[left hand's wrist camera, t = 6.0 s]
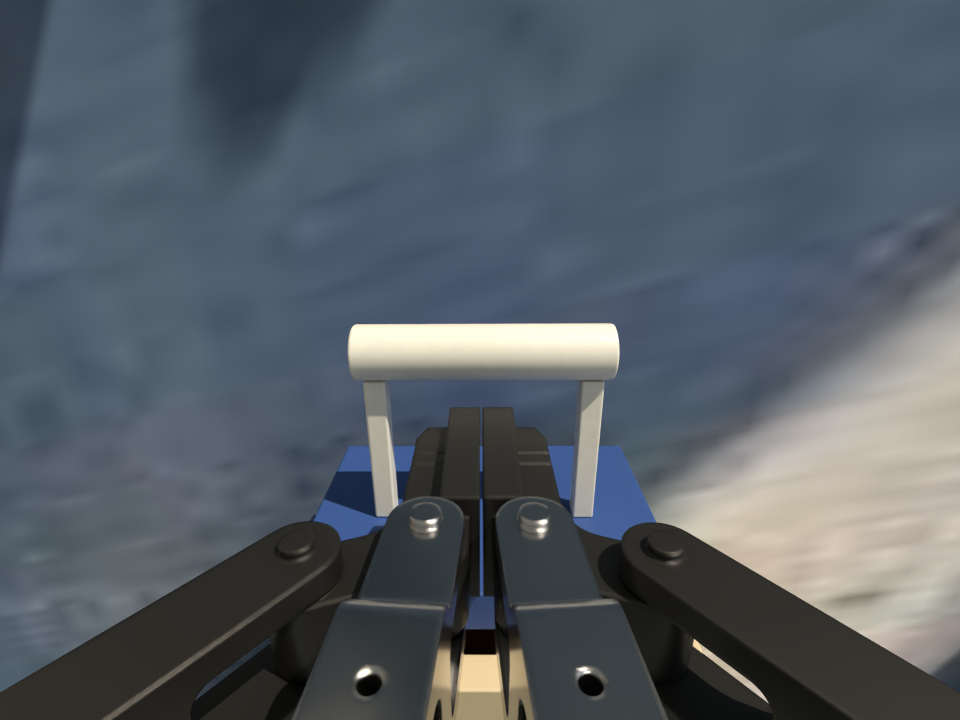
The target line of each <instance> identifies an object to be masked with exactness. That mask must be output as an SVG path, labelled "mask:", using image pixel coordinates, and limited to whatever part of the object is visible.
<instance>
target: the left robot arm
mask: <svg viewBox="0 0 960 720" xmlns="http://www.w3.org/2000/svg"><path fill="white" fill-rule="evenodd" d="M482 485H483V597H494V638H495V647H496V656H497V664H498V673H499V681H500V690H501V699H502V707H503V716H504V720H960V692H958V691H956V690H954V689H953V688H951V687H949V686H948V685H946V684H944V683H943V682H941V681H939V680H938V679H936V678H934V677H932V676H931V675H929V674H927V673H926V672H924V671H922V670H921V669H919V668H917V667H915V666H914V665H912V664H910V663H909V662H907V661H905V660H904V659H902V658H900V657H898V656H897V655H895V654H893V653H892V652H890V651H888V650H887V649H885V648H883V647H881V646H880V645H878V644H876V643H875V642H873V641H871V640H870V639H868V638H866V637H864V636H863V635H861V634H859V633H858V632H856V631H854V630H853V629H851V628H849V627H847V626H846V625H844V624H842V623H841V622H839V621H837V620H836V619H834V618H832V617H830V616H829V615H827V614H825V613H824V612H822V611H820V610H819V609H817V608H815V607H813V606H812V605H810V604H808V603H807V602H805V601H803V600H802V599H800V598H798V597H796V596H795V595H793V594H791V593H790V592H788V591H786V590H785V589H783V588H781V587H779V586H778V585H776V584H774V583H773V582H771V581H769V580H768V579H766V578H764V577H762V576H761V575H759V574H757V573H756V572H754V571H752V570H751V569H749V568H747V567H745V566H744V565H742V564H740V563H739V562H737V561H735V560H734V559H732V558H730V557H728V556H727V555H725V554H723V553H722V552H720V551H718V550H717V549H715V548H713V547H712V546H710V545H708V544H706V543H705V542H703V541H701V540H700V539H698V538H696V537H695V536H693V535H691V534H689V533H688V532H686V531H684V530H682V529H680V528H677V527H675V526H671V525H668V524H663V523H655V522H647V523H640V524H637V525H634V526H632V527H630V528H629V529H628V530H626V531H625V533H624V534H623V536H622V539H621V540H617V539H613V538H609V537H604V536H600V535H597V534H593V533H591V532H588V531H586V530H584V529H582V528H580V527H579V526H577V525H576V524H575V523H574V520H573V518H572V516H571V514H570V513H569V511H568V510H567V509H566V508H565V507H564V506H562V505H561V501H560V496H559V492H558V488H557V484H556V479H555V475H554V471H553V467H552V462H551V458H550V454H549V450H548V445H547V441H546V438H545V437H544V436H543V435H542V434H541V433H540V432H539V431H538V430H536V429H535V428H515V424H514V416H513V409H512V407H483V450H482ZM470 597H480V408H450V413H449V422H448V428H427V429H426V430H425V431H424V432H423V433H422V434H421V435H420V436H419V437H418V438H417V440H416V445H415V449H414V455H413V458H412V462H411V467H410V471H409V476H408V480H407V484H406V489H405V493H404V498H403V502H402V503H401V504H399V505H398V506H396V507H395V508H394V509H393V510H392V511H391V513H390V514H389V516H388V518H387V520H386V523H385V526H384V528H382V529H380V530H378V531H376V532H373V533H371V534H368V535H364V536H360V537H356V538H352V539H347V540H343V541H341V539H340V536H339V533H338V532H337V530H336V529H334V528H333V527H332V526H330V525H328V524H325V523H322V522H316V521H305V522H298V523H293V524H290V525H287V526H284V527H282V528H280V529H278V530H276V531H274V532H272V533H271V534H269V535H267V536H265V537H264V538H262V539H260V540H259V541H257V542H255V543H254V544H252V545H250V546H249V547H247V548H245V549H243V550H242V551H240V552H238V553H237V554H235V555H233V556H232V557H230V558H228V559H226V560H225V561H223V562H221V563H220V564H218V565H216V566H215V567H213V568H211V569H209V570H208V571H206V572H204V573H203V574H201V575H199V576H198V577H196V578H194V579H192V580H191V581H189V582H187V583H186V584H184V585H182V586H181V587H179V588H177V589H175V590H174V591H172V592H170V593H169V594H167V595H165V596H164V597H162V598H160V599H158V600H157V601H155V602H153V603H152V604H150V605H148V606H147V607H145V608H143V609H141V610H140V611H138V612H136V613H135V614H133V615H131V616H130V617H128V618H126V619H124V620H123V621H121V622H119V623H118V624H116V625H114V626H113V627H111V628H109V629H107V630H106V631H104V632H102V633H101V634H99V635H97V636H96V637H94V638H92V639H90V640H89V641H87V642H85V643H84V644H82V645H80V646H79V647H77V648H75V649H73V650H72V651H70V652H68V653H67V654H65V655H63V656H62V657H60V658H58V659H56V660H55V661H53V662H51V663H50V664H48V665H46V666H45V667H43V668H41V669H40V670H38V671H36V672H34V673H33V674H31V675H29V676H28V677H26V678H24V679H23V680H21V681H19V682H17V683H16V684H14V685H12V686H11V687H9V688H7V689H6V690H4V691H2V692H0V720H456V716H457V707H458V699H459V690H460V681H461V673H462V664H463V656H464V647H465V638H466V623H467V620H468V617H469V599H470ZM268 637H269V638H270V644H269V645H268V646H266V647H265V648H264V649H263V650H261V651H260V652H259V653H257V654H256V655H255V656H253V657H252V658H251V659H249V660H248V661H247V662H245V663H244V664H243V665H242V666H240V667H239V668H238V669H236V670H235V671H234V672H232V673H231V674H230V675H228V676H227V677H226V678H224V679H223V680H222V681H221V682H219V683H218V684H217V685H215V686H214V687H213V688H211V689H210V690H209V691H207V692H206V693H205V694H203V695H202V696H201V697H199V698H198V699H197V700H196V701H194V700H195V698H196V697H197V695H198V694H199V692H200V691H201V690H202V689H203V687H204V686H205V685H206V684H207V683H208V682H210V681H211V680H212V679H213V678H215V677H216V676H217V675H219V674H220V673H221V672H223V671H224V670H225V669H227V668H228V667H229V666H231V665H232V664H233V663H235V662H236V661H237V660H239V659H240V658H241V657H243V656H244V655H245V654H247V653H248V652H249V651H251V650H252V649H253V648H255V647H256V646H257V645H259V644H260V643H261V642H263V641H264V640H265V639H267V638H268ZM694 639H695V640H696V641H697V642H699V643H700V644H701V645H703V646H704V647H705V648H707V649H708V650H709V651H711V652H712V653H713V654H715V655H716V656H717V657H719V658H720V659H721V660H723V661H724V662H725V663H727V664H728V665H729V666H731V667H732V668H733V669H735V670H736V671H737V672H739V673H740V674H741V675H743V676H744V677H745V678H747V679H748V680H749V681H751V682H752V683H753V684H754V685H755V686H756V687H757V688H758V689H759V690H760V691H761V692H762V693H763V695H764V696H765V697H766V699H767V701H768V703H769V704H768V703H767V702H766V701H764V700H763V699H762V698H761V697H759V696H758V695H757V694H755V693H754V692H753V691H751V690H750V689H749V688H747V687H746V686H745V685H743V684H742V683H741V682H740V681H738V680H737V679H736V678H734V677H733V676H732V675H730V674H729V673H728V672H726V671H725V670H724V669H722V668H721V667H720V666H718V665H717V664H716V663H715V662H713V661H712V660H711V659H709V658H708V657H707V656H705V655H704V654H703V653H701V652H700V651H699V650H697V649H696V648H695V647H694V646H693V642H694Z"/></svg>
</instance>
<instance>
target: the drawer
mask: <svg viewBox="0 0 960 720" xmlns="http://www.w3.org/2000/svg"><path fill="white" fill-rule="evenodd" d="M618 364H619V339H618V334H617V330H616V328H615V326H614V325H613V324H356V325H354V326H353V327H352V328H351V331H350V334H349V339H348V365H349V370H350V373H351V376H352V378H353V379H354V380H357V381H363V380H365V381H364V383H363V390H364V400H365V410H366V421H367V431H368V441H369V446H349V447H348V449H347V451H346V453H345V455H344V458H343V460H342V462H341V464H340V466H339V468H338V470H337V472H336V474H335V476H334V478H333V481H332V483H331V485H330V487H329V489H328V491H327V493H326V495H325V497H324V499H323V501H322V504H321V506H320V508H319V510H318V512H317V514H316V516H315V518H314V520H313V521H316V522H322V523H325V524H328V525H330V526H332V527H333V528H334V529H336V530H337V532H338V533H339V536H340V539H341V541H343V540H347V539H352V538H356V537H360V536H364V535H368V534H371V533H373V532H376V531H378V530H380V529H382V528H384V526H385V523H386V520H387V518H388V516H389V514H390V513H391V511H392V510H393V509H394V508H395V507H396V506H398V505H399V504H401V503H402V502H403V498H404V493H405V489H406V484H407V480H408V476H409V471H410V467H411V462H412V458H413V455H414V449H415V446H394V442H393V430H392V417H391V404H390V391H389V380H578V391H577V405H576V420H575V434H574V446H548V450H549V454H550V458H551V462H552V467H553V471H554V475H555V479H556V484H557V488H558V492H559V496H560V501H561V505H562V506H564V507H565V508H566V509H567V510H568V511H569V513H570V514H571V516H572V518H573V520H574V523H575V524H576V525H577V526H579V527H580V528H582V529H584V530H586V531H588V532H591V533H593V534H597V535H600V536H604V537H609V538H613V539H617V540H621V539H622V536H623V534H624V533H625V531H626V530H628V529H629V528H630V527H632V526H634V525H637V524H640V523H647V522H655V523H656V521H655V519H654V516H653V514H652V512H651V510H650V508H649V506H648V504H647V502H646V500H645V498H644V496H643V493H642V491H641V489H640V487H639V485H638V483H637V481H636V479H635V477H634V475H633V473H632V470H631V468H630V466H629V464H628V462H627V460H626V458H625V456H624V454H623V452H622V450H621V447H620V446H599V438H600V427H601V416H602V405H603V394H604V381H603V380H612V379H614V377H615V376H616V373H617V369H618ZM482 450H483V446H480V597H470V599H469V617H468V620H467V623H466V638H465V647H464V655H496V647H495V638H494V597H483V485H482Z"/></svg>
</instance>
